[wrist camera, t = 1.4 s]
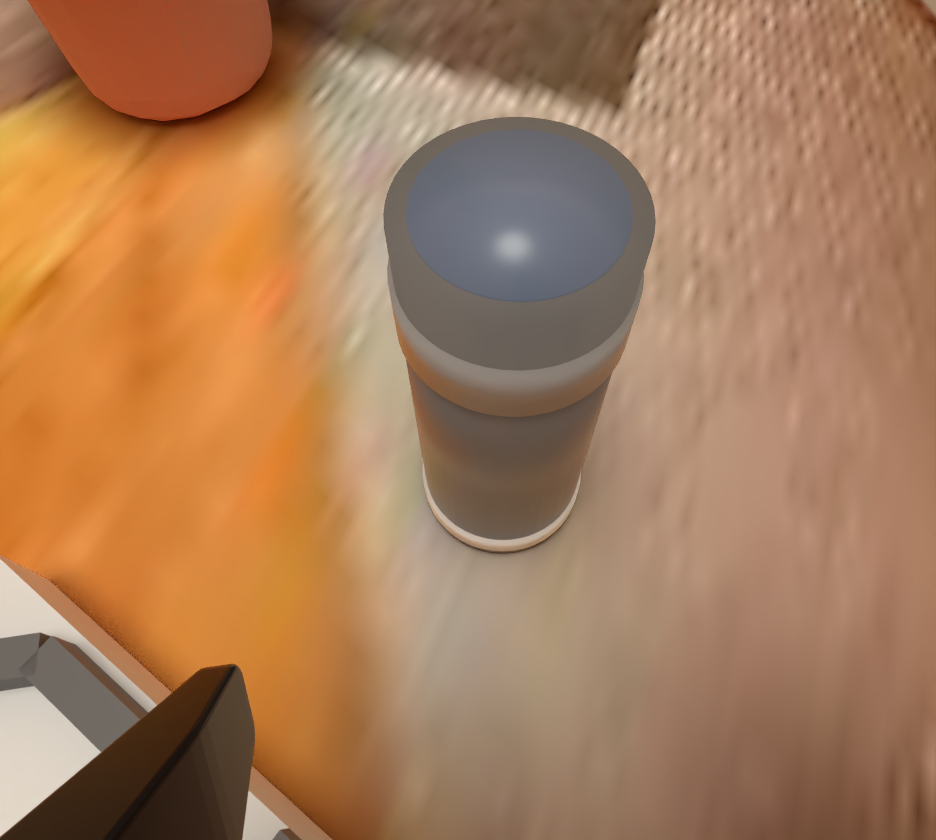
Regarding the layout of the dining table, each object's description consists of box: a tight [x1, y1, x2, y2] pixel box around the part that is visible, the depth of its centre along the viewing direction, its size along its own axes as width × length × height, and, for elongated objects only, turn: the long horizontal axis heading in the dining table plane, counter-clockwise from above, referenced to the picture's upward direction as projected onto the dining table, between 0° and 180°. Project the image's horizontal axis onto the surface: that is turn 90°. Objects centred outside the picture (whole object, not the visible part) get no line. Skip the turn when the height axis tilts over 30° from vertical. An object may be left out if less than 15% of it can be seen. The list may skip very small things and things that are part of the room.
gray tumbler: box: [384, 117, 655, 553], centre depth 18 cm, size 5×5×13 cm
